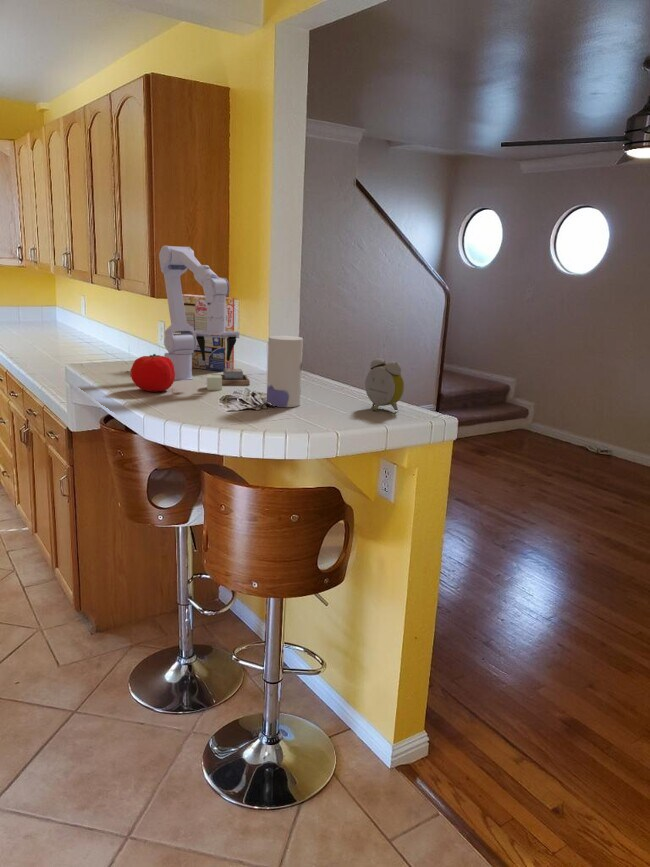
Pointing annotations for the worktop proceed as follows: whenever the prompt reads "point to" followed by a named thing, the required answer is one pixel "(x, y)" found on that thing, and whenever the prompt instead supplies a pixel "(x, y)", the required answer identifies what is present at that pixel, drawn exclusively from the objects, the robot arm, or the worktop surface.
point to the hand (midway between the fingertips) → (215, 360)
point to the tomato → (153, 373)
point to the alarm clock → (384, 383)
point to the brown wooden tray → (235, 381)
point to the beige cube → (214, 382)
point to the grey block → (232, 374)
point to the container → (284, 370)
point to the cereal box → (213, 346)
